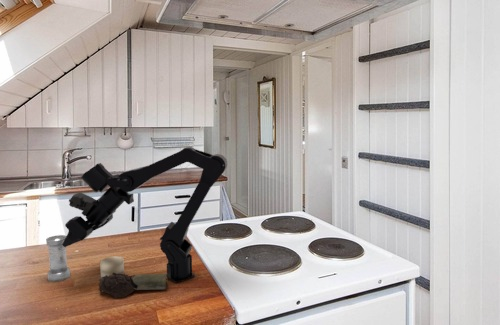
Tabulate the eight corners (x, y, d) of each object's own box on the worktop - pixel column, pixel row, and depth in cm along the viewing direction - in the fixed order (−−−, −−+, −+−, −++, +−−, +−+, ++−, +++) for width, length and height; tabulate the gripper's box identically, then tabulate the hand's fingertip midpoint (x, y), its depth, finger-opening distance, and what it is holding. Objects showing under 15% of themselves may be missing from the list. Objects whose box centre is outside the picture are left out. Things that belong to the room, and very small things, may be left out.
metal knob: (67, 271, 105) (64, 233, 104) (72, 277, 101) (70, 238, 100) (45, 276, 102) (43, 237, 100) (50, 283, 97) (47, 242, 96)
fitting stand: (120, 270, 106) (119, 254, 106) (128, 277, 101) (127, 260, 101) (97, 276, 102) (96, 260, 101) (104, 284, 97) (104, 267, 96)
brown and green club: (167, 284, 97) (167, 265, 96) (165, 296, 90) (165, 276, 89) (102, 289, 94) (101, 269, 93) (94, 301, 87) (93, 280, 87)
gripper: (101, 179, 108) (68, 213, 109) (70, 190, 89) (31, 231, 90) (127, 203, 109) (94, 237, 110) (102, 219, 90) (62, 259, 91)
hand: (72, 240), depth 100 cm, fingers open, 9 cm apart
